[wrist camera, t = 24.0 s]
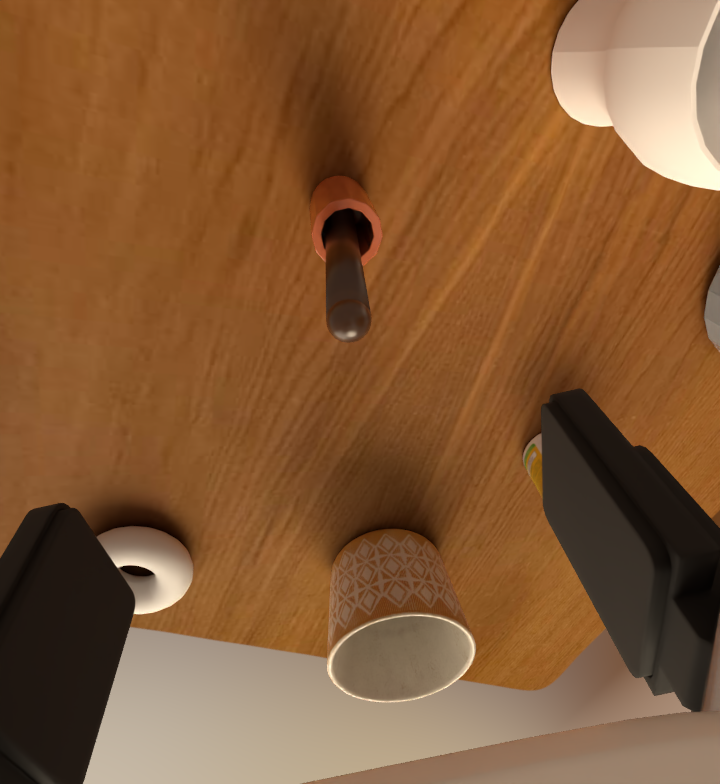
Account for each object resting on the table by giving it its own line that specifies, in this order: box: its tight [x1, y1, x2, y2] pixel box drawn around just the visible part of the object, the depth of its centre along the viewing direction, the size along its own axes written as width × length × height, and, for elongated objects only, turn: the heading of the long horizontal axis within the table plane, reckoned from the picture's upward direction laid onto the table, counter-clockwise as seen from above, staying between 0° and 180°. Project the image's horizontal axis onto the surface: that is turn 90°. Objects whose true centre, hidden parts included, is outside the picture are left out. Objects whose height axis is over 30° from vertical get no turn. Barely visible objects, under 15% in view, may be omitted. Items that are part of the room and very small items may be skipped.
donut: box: [97, 526, 193, 614], centre depth 49 cm, size 10×4×10 cm
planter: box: [327, 529, 476, 702], centre depth 49 cm, size 13×13×10 cm
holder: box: [310, 175, 383, 266], centre depth 32 cm, size 4×4×7 cm
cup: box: [551, 0, 720, 190], centre depth 26 cm, size 11×11×15 cm
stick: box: [325, 208, 371, 343], centre depth 28 cm, size 2×2×17 cm
